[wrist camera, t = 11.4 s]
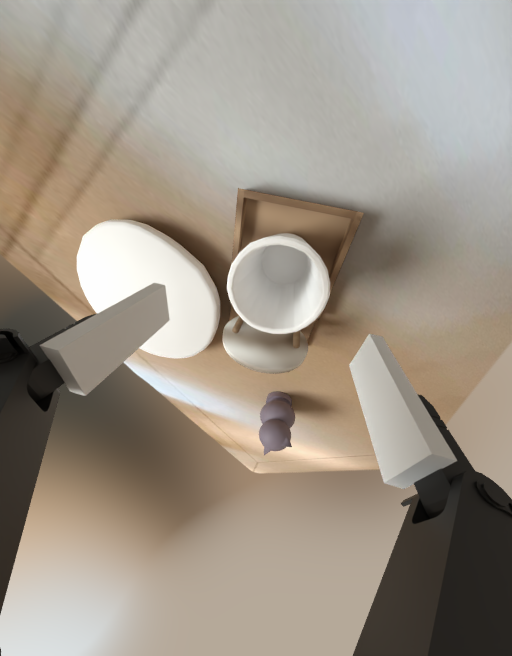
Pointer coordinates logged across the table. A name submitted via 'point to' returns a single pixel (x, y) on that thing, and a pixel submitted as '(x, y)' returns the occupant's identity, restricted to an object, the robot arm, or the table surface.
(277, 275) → the cup
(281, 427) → the cat figurine
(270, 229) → the rack
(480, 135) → the table surface
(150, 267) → the plate
